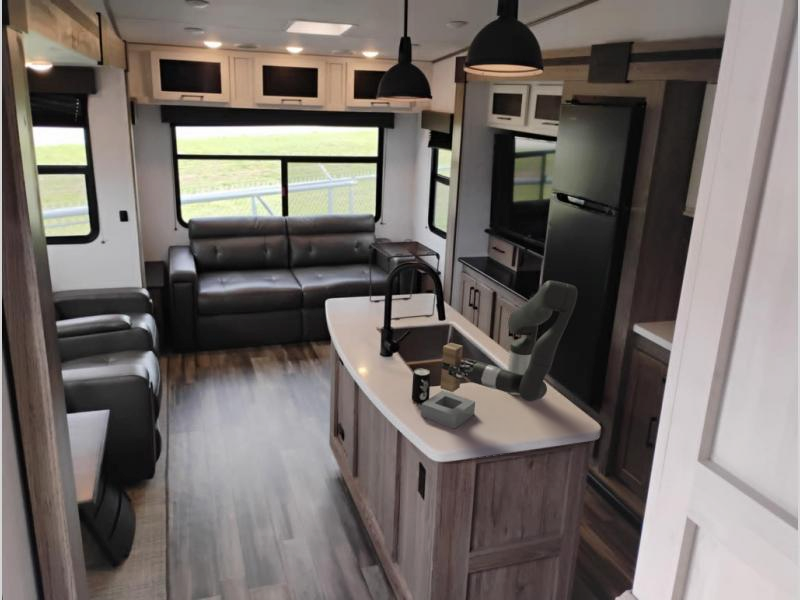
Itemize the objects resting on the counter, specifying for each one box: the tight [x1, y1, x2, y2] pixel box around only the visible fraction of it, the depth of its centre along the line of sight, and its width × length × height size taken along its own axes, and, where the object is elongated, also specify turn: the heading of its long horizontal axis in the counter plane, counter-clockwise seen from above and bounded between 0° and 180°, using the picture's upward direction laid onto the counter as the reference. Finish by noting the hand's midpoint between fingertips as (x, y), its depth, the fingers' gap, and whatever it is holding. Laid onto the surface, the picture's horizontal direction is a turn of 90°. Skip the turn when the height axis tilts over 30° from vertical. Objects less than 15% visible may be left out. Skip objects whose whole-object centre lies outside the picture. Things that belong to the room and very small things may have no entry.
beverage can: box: [411, 367, 432, 405], centre depth 234 cm, size 7×7×12 cm
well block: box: [420, 389, 476, 429], centre depth 225 cm, size 14×14×5 cm
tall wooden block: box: [440, 342, 464, 393], centre depth 220 cm, size 5×5×16 cm
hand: (445, 362), depth 222 cm, fingers closed on tall wooden block, 5 cm apart
